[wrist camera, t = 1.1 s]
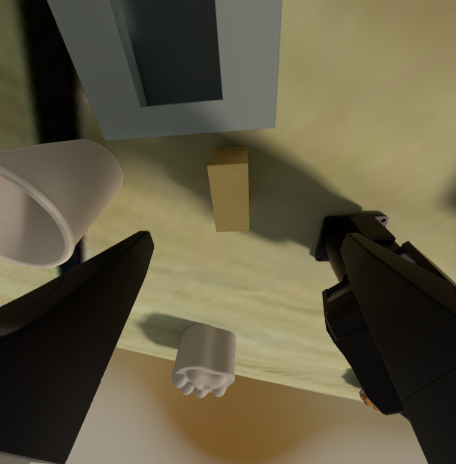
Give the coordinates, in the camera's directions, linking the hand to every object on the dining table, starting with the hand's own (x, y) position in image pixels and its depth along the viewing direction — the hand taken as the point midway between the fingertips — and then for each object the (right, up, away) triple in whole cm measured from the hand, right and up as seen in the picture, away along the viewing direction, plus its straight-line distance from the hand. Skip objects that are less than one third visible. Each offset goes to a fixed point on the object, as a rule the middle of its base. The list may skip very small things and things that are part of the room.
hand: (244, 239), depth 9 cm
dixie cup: (-14, +7, +11) cm, 20 cm away
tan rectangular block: (0, +6, +11) cm, 12 cm away
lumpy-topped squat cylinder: (-5, -22, +32) cm, 40 cm away
